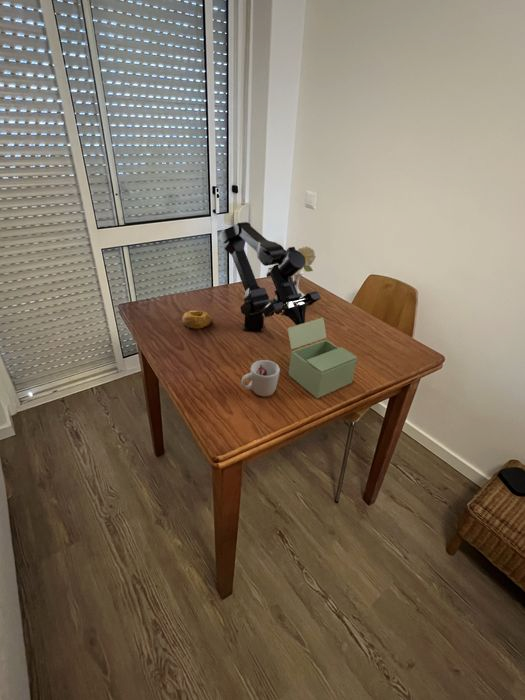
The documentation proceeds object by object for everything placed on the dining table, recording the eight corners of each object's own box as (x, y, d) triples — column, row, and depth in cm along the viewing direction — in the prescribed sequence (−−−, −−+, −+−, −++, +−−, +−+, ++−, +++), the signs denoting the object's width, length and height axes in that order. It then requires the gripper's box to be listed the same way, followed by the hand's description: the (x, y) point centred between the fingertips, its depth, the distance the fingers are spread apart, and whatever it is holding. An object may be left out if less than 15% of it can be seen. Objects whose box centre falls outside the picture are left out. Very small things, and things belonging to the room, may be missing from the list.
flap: (291, 349, 102) (290, 349, 102) (326, 337, 109) (325, 337, 109) (287, 328, 101) (287, 328, 101) (323, 317, 108) (322, 317, 108)
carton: (288, 374, 107) (291, 349, 102) (322, 361, 114) (326, 337, 109) (317, 398, 98) (321, 371, 93) (351, 382, 105) (357, 357, 100)
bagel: (215, 326, 130) (215, 315, 127) (186, 332, 126) (185, 320, 123) (207, 315, 137) (206, 304, 135) (179, 320, 133) (178, 308, 130)
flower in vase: (275, 303, 151) (280, 244, 137) (289, 295, 159) (295, 239, 145) (302, 312, 145) (309, 251, 131) (314, 303, 153) (323, 245, 139)
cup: (246, 405, 94) (247, 381, 90) (236, 387, 100) (236, 364, 96) (282, 396, 98) (284, 373, 94) (270, 379, 104) (272, 357, 100)
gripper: (294, 288, 120) (311, 330, 118) (247, 299, 110) (266, 345, 109) (312, 273, 110) (331, 319, 108) (263, 284, 101) (283, 334, 99)
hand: (302, 329), depth 106 cm, fingers closed
